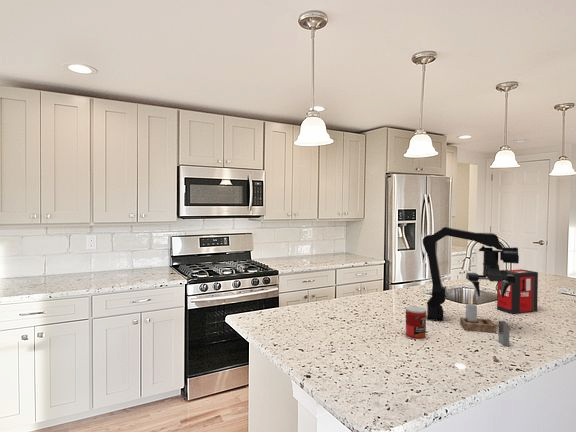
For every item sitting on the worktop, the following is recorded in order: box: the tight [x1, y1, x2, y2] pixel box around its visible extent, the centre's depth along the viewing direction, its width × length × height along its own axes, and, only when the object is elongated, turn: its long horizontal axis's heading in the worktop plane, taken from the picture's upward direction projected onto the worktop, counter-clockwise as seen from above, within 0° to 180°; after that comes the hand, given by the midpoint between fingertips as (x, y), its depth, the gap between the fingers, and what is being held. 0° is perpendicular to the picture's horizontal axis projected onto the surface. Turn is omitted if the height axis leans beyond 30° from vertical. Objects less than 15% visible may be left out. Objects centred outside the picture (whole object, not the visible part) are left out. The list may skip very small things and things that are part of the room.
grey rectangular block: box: [497, 320, 510, 347], centre depth 138 cm, size 2×5×8 cm, turn 166°
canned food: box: [405, 305, 427, 340], centre depth 147 cm, size 8×8×11 cm
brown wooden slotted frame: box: [459, 317, 497, 334], centre depth 156 cm, size 12×9×3 cm
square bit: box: [465, 303, 478, 323], centre depth 157 cm, size 4×4×10 cm
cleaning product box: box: [496, 268, 539, 316], centre depth 183 cm, size 16×9×20 cm, turn 108°
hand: (490, 297), depth 158 cm, fingers open, 9 cm apart
